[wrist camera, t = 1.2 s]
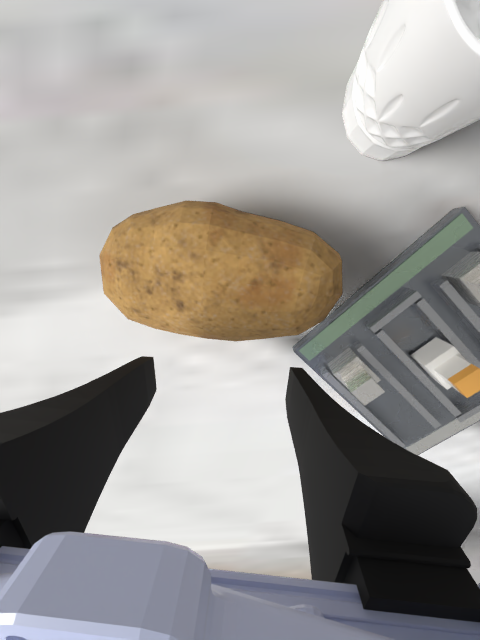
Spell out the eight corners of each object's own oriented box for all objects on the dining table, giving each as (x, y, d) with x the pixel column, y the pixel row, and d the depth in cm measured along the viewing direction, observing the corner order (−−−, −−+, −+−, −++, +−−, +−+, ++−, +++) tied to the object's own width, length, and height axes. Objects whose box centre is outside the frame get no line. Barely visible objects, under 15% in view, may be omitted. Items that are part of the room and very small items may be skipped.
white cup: (319, 65, 15) (418, -240, 6) (450, -7, 14) (892, -592, 4) (348, 189, 17) (456, 120, 8) (465, 139, 16) (781, -24, 6)
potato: (136, 204, 19) (25, 167, 10) (326, 224, 18) (391, 203, 9) (140, 305, 21) (56, 347, 13) (305, 326, 21) (338, 386, 12)
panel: (568, 356, 19) (662, 390, 15) (403, 451, 24) (436, 499, 19) (453, 208, 17) (524, 195, 12) (292, 347, 21) (300, 374, 17)
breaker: (457, 360, 19) (502, 386, 16) (431, 377, 20) (468, 406, 16) (436, 336, 19) (478, 358, 15) (410, 355, 19) (444, 380, 16)
